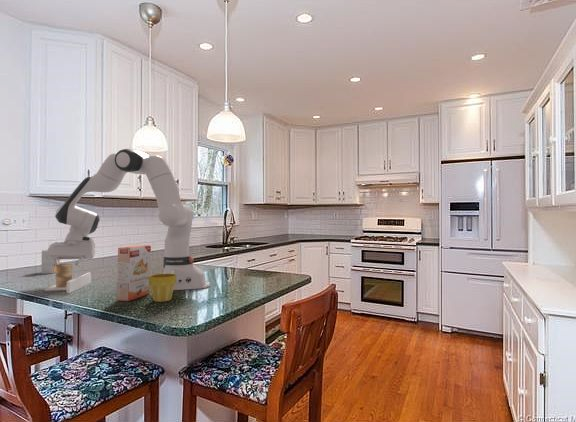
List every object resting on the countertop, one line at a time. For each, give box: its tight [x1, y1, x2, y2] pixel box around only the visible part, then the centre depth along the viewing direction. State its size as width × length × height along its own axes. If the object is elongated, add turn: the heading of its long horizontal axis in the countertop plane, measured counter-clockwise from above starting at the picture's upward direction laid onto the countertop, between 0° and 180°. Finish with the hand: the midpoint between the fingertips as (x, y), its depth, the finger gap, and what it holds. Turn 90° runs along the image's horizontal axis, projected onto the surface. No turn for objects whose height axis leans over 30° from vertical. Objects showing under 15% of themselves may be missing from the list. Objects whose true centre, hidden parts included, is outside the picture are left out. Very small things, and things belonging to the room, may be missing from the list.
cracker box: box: [116, 244, 152, 302], centre depth 142 cm, size 14×6×21 cm, turn 168°
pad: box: [43, 284, 67, 292], centre depth 159 cm, size 11×12×1 cm
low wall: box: [66, 272, 92, 294], centre depth 159 cm, size 1×24×5 cm, turn 10°
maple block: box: [55, 263, 73, 287], centre depth 159 cm, size 5×4×10 cm
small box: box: [40, 249, 61, 274], centre depth 199 cm, size 8×6×13 cm
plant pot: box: [149, 273, 176, 303], centre depth 138 cm, size 10×10×10 cm
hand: (65, 265), depth 160 cm, fingers open, 8 cm apart
